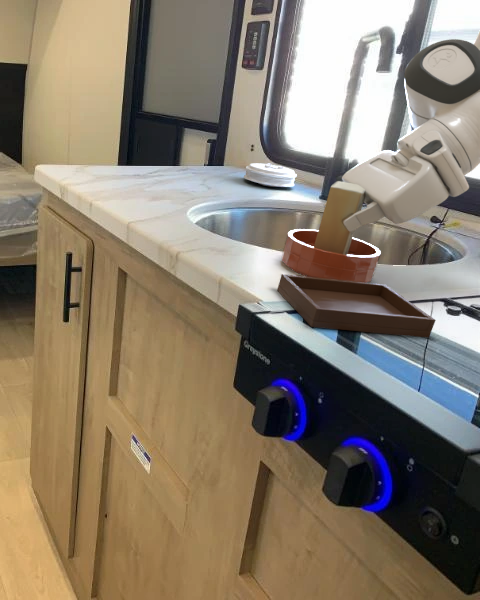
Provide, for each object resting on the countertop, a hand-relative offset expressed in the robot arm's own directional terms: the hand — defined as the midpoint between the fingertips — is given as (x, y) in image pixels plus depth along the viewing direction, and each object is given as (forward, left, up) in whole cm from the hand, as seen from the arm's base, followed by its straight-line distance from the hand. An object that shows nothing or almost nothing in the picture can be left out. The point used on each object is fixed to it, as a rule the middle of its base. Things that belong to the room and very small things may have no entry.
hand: (335, 218), depth 86 cm
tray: (+3, +16, -8) cm, 18 cm away
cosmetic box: (-1, 0, -8) cm, 8 cm away
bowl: (-1, 0, -8) cm, 8 cm away
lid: (-16, -69, -8) cm, 71 cm away
